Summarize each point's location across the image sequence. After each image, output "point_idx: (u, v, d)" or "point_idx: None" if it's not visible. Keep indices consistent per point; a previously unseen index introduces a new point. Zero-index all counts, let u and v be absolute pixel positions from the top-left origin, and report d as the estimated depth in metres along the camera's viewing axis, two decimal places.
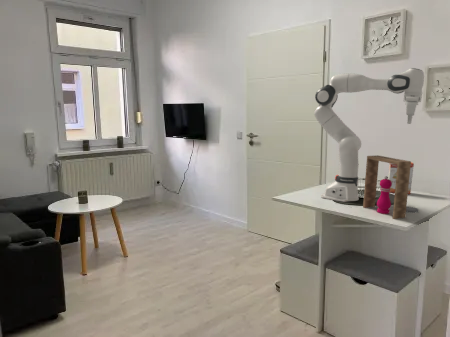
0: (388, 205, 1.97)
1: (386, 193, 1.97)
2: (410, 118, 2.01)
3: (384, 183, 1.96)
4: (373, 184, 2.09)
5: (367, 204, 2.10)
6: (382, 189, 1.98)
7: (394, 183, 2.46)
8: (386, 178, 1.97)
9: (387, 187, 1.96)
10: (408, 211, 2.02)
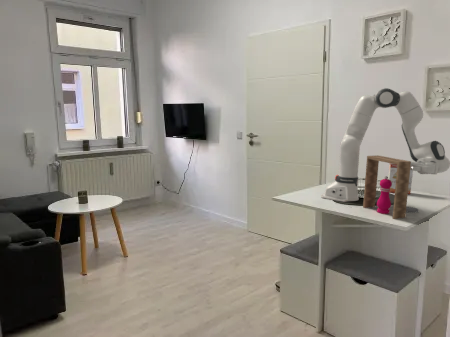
0: (388, 205, 1.97)
1: (386, 193, 1.97)
2: (418, 169, 1.97)
3: (384, 183, 1.96)
4: (373, 184, 2.09)
5: (367, 204, 2.10)
6: (382, 189, 1.98)
7: (394, 183, 2.46)
8: (386, 178, 1.97)
9: (387, 187, 1.96)
10: (408, 211, 2.02)
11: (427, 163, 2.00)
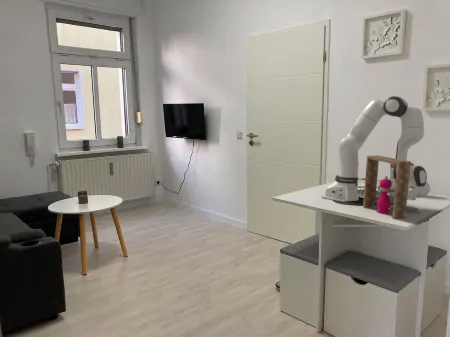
0: (388, 205, 1.97)
1: (386, 193, 1.97)
2: (394, 195, 1.96)
3: (384, 183, 1.96)
4: (373, 184, 2.09)
5: (367, 204, 2.10)
6: (382, 189, 1.98)
7: (394, 183, 2.46)
8: (386, 178, 1.97)
9: (387, 187, 1.96)
10: (408, 211, 2.02)
11: None
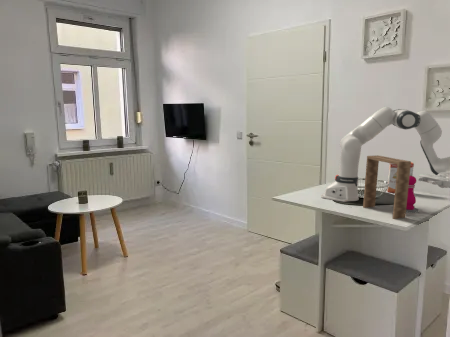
0: (413, 201, 2.03)
1: (411, 189, 2.04)
2: (439, 183, 2.04)
3: (409, 180, 2.02)
4: (373, 184, 2.09)
5: (367, 204, 2.10)
6: None
7: (394, 183, 2.46)
8: (411, 175, 2.04)
9: (412, 183, 2.03)
10: (408, 211, 2.02)
11: (448, 177, 2.07)
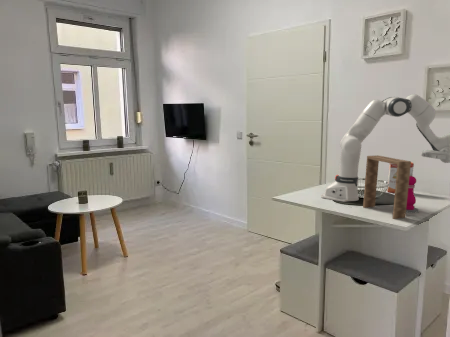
0: (413, 201, 2.03)
1: (411, 189, 2.03)
2: (443, 157, 2.01)
3: (409, 180, 2.02)
4: (373, 184, 2.09)
5: (367, 204, 2.10)
6: None
7: (394, 183, 2.46)
8: (411, 175, 2.03)
9: (412, 184, 2.02)
10: (408, 211, 2.02)
11: None
